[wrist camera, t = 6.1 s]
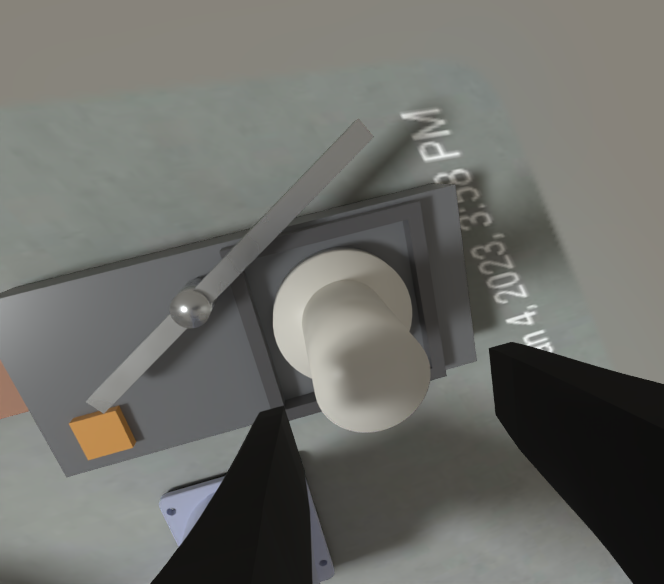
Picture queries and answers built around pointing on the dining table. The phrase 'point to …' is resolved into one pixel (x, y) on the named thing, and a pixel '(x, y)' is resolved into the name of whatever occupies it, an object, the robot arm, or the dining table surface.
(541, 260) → the dining table surface
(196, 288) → the clip
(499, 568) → the dining table surface
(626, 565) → the robot arm
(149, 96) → the dining table surface
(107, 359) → the power strip
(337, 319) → the plug
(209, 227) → the dining table surface
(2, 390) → the mat
